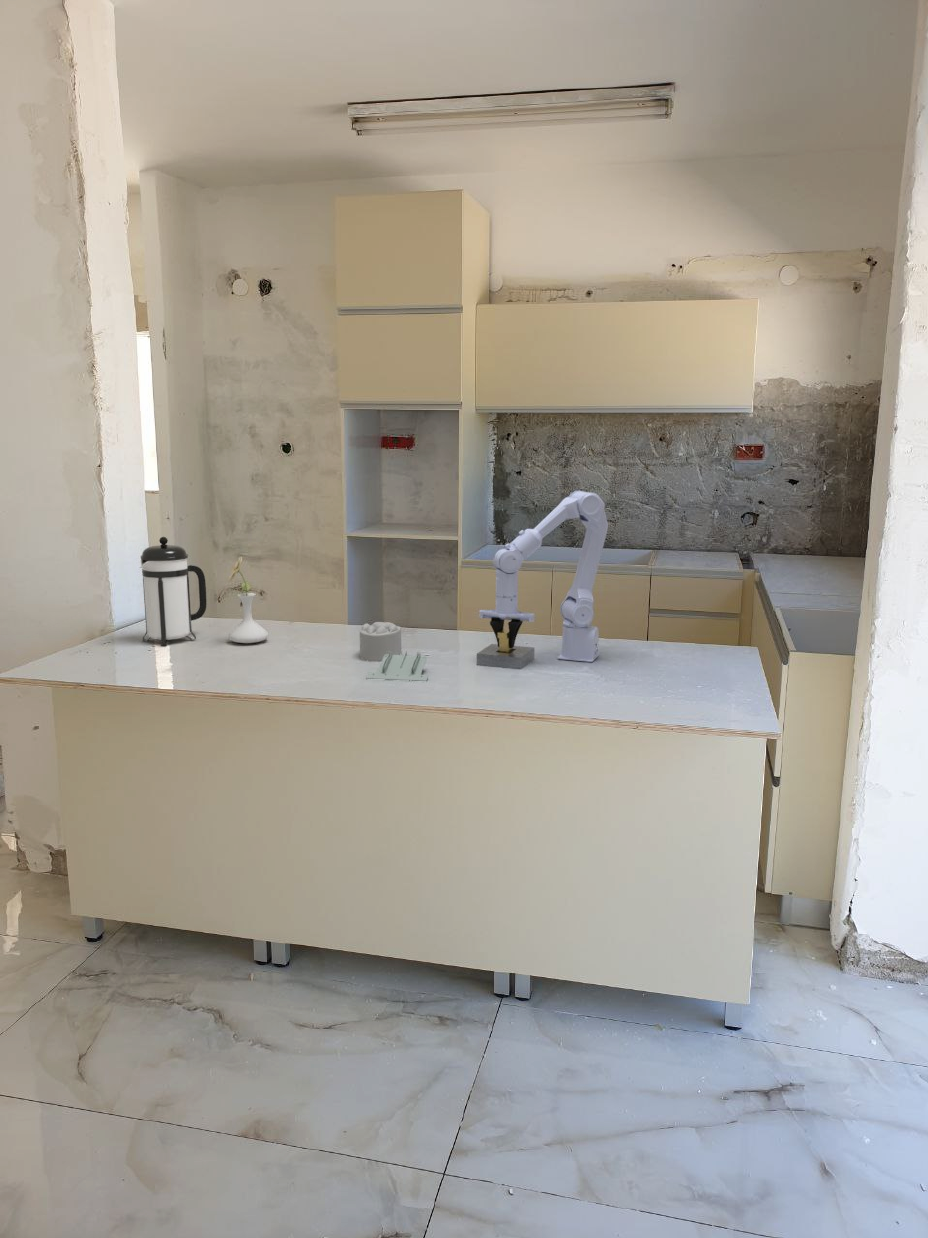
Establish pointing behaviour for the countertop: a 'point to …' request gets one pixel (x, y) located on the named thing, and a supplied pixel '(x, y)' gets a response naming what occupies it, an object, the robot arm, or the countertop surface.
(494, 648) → the metal plate with slot
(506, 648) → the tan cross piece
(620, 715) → the countertop surface
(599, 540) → the robot arm
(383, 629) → the lumpy-topped squat cylinder
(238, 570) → the flower in vase
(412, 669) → the metal bracket
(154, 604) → the coffee press
